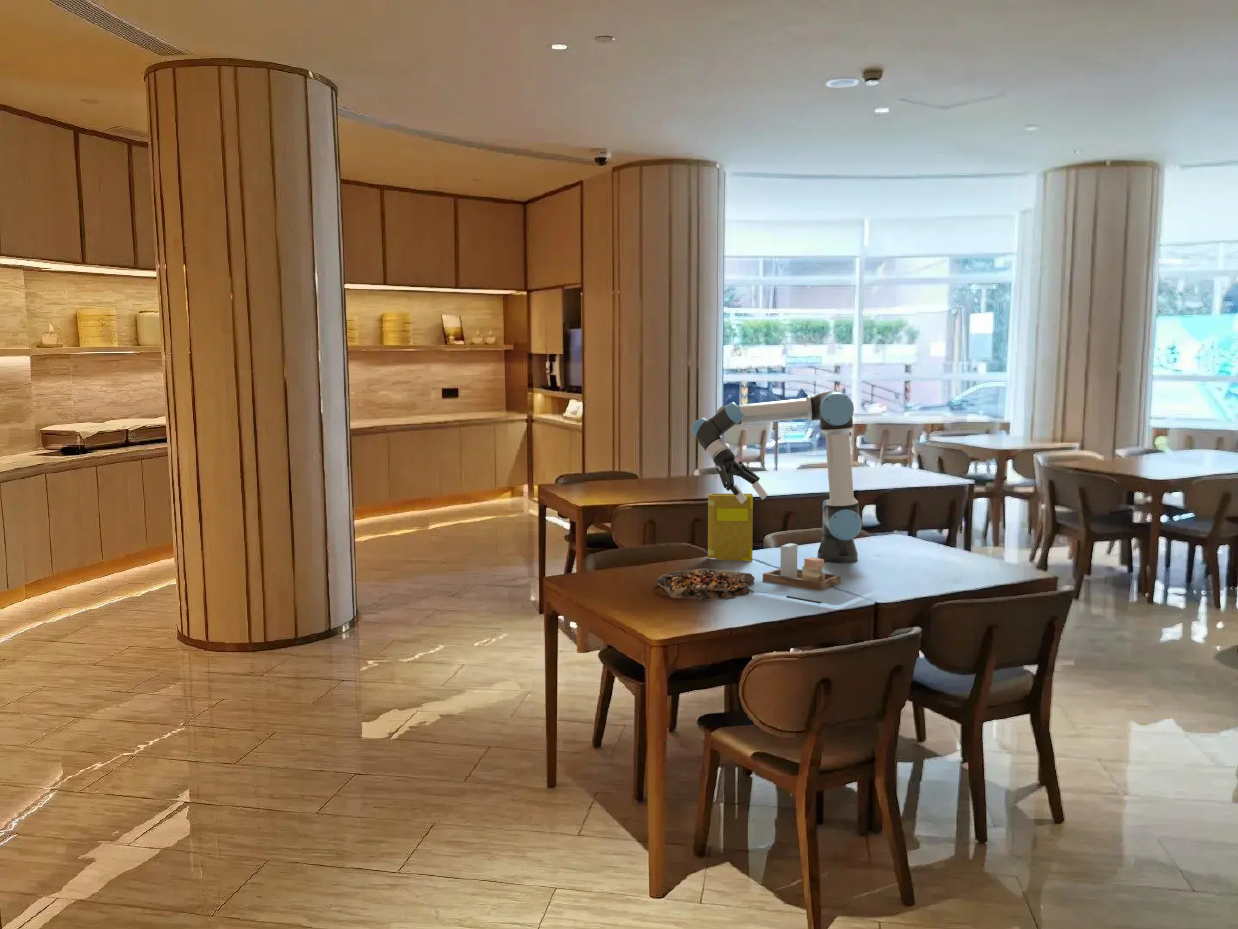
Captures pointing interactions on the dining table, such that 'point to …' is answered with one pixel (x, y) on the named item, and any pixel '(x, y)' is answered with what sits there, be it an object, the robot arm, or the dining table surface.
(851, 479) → the robot arm
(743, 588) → the food dish
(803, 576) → the offcut
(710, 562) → the dining table surface
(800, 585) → the wooden tray
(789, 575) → the white rectangular block
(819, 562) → the offcut
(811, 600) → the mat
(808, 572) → the offcut
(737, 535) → the book
